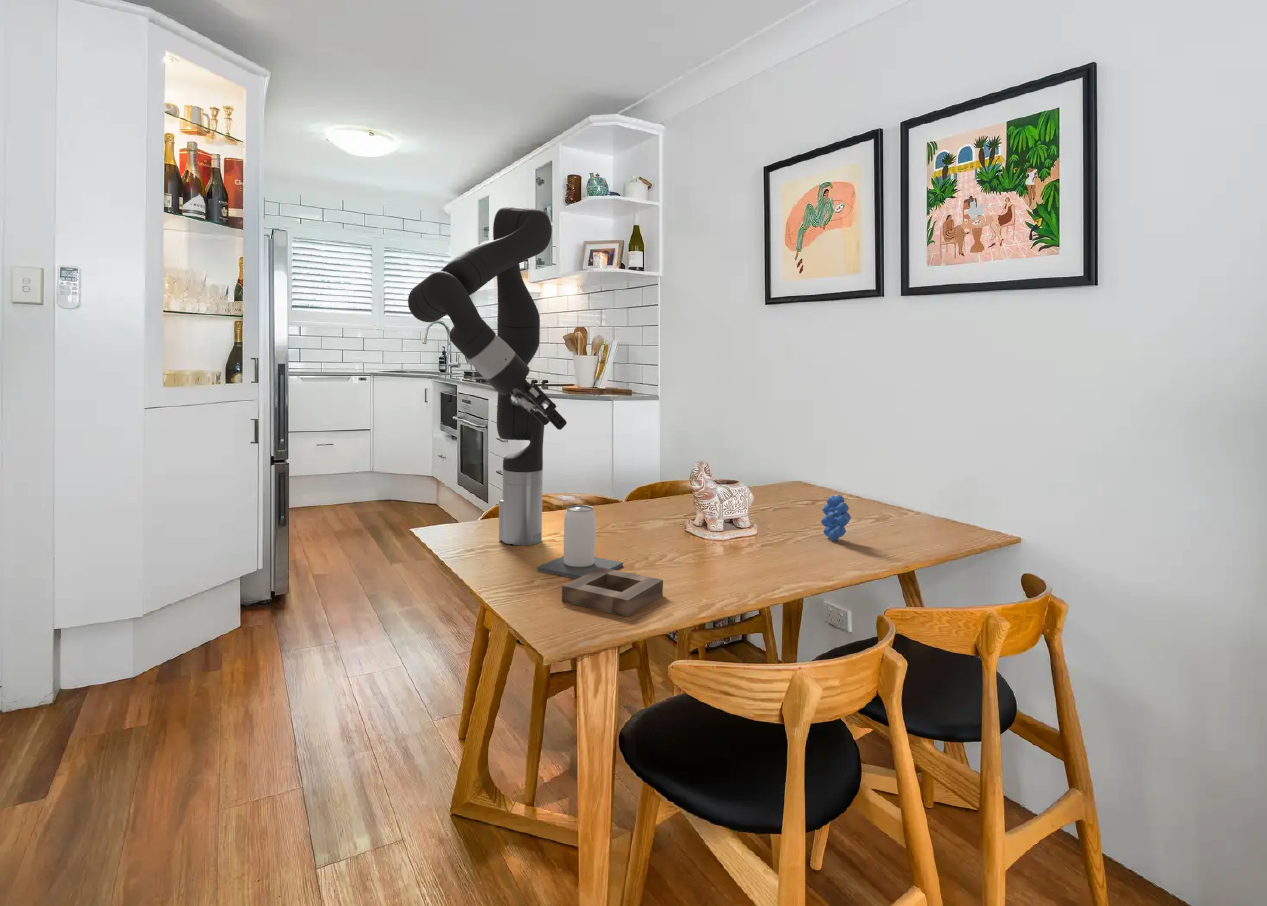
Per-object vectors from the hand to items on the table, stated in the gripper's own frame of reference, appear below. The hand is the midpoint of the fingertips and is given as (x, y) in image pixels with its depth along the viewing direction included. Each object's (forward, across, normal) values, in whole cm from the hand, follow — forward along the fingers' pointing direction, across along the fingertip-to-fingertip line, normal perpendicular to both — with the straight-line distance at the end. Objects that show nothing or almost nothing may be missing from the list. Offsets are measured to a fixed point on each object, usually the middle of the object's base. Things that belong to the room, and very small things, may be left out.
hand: (555, 424), depth 142 cm
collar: (+26, -17, +18) cm, 35 cm away
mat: (+27, +2, +17) cm, 32 cm away
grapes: (+75, +2, -32) cm, 82 cm away
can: (+26, +3, +16) cm, 31 cm away
